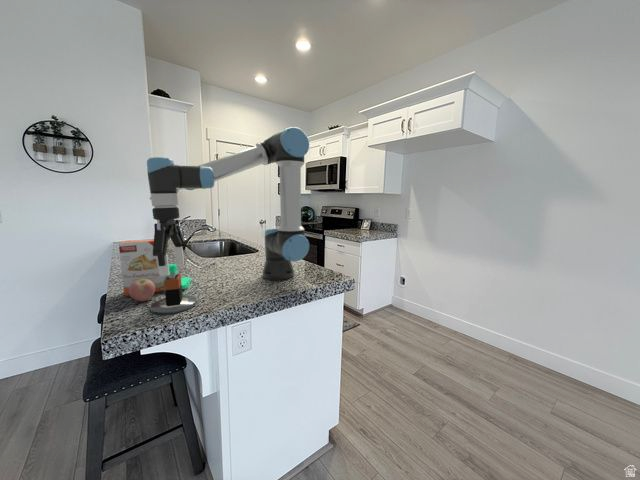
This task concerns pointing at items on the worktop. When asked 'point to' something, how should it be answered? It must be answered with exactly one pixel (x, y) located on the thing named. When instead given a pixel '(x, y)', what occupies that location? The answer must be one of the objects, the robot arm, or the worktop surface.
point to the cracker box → (139, 264)
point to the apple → (142, 289)
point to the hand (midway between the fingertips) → (172, 269)
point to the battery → (173, 289)
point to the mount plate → (161, 307)
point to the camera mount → (184, 281)
